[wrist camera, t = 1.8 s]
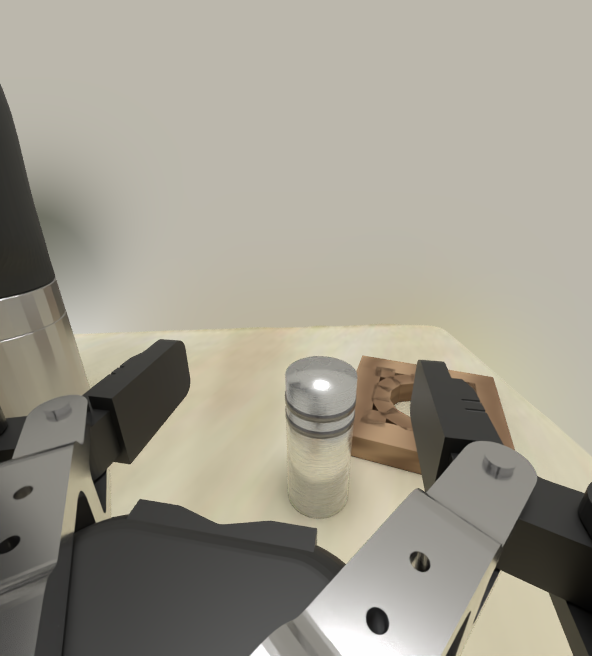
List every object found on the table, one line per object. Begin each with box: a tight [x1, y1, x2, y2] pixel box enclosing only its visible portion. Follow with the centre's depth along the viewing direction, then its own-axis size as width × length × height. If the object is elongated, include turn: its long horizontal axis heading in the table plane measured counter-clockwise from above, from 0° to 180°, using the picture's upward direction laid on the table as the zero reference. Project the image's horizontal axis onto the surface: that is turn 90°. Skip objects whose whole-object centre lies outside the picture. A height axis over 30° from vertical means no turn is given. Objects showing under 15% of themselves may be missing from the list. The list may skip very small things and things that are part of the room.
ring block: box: [351, 356, 515, 474], centre depth 37 cm, size 16×16×2 cm
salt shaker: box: [285, 356, 357, 518], centre depth 27 cm, size 5×5×12 cm
